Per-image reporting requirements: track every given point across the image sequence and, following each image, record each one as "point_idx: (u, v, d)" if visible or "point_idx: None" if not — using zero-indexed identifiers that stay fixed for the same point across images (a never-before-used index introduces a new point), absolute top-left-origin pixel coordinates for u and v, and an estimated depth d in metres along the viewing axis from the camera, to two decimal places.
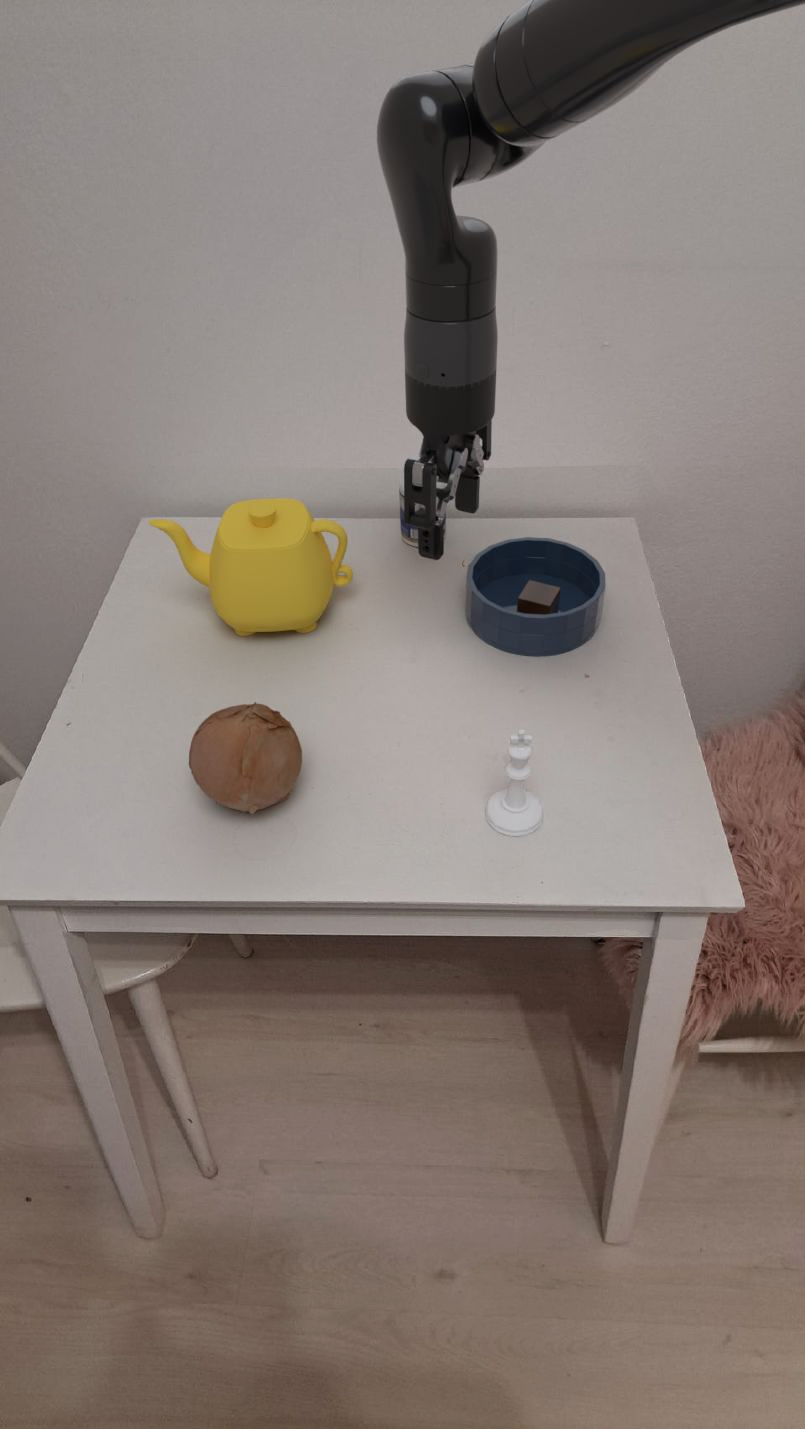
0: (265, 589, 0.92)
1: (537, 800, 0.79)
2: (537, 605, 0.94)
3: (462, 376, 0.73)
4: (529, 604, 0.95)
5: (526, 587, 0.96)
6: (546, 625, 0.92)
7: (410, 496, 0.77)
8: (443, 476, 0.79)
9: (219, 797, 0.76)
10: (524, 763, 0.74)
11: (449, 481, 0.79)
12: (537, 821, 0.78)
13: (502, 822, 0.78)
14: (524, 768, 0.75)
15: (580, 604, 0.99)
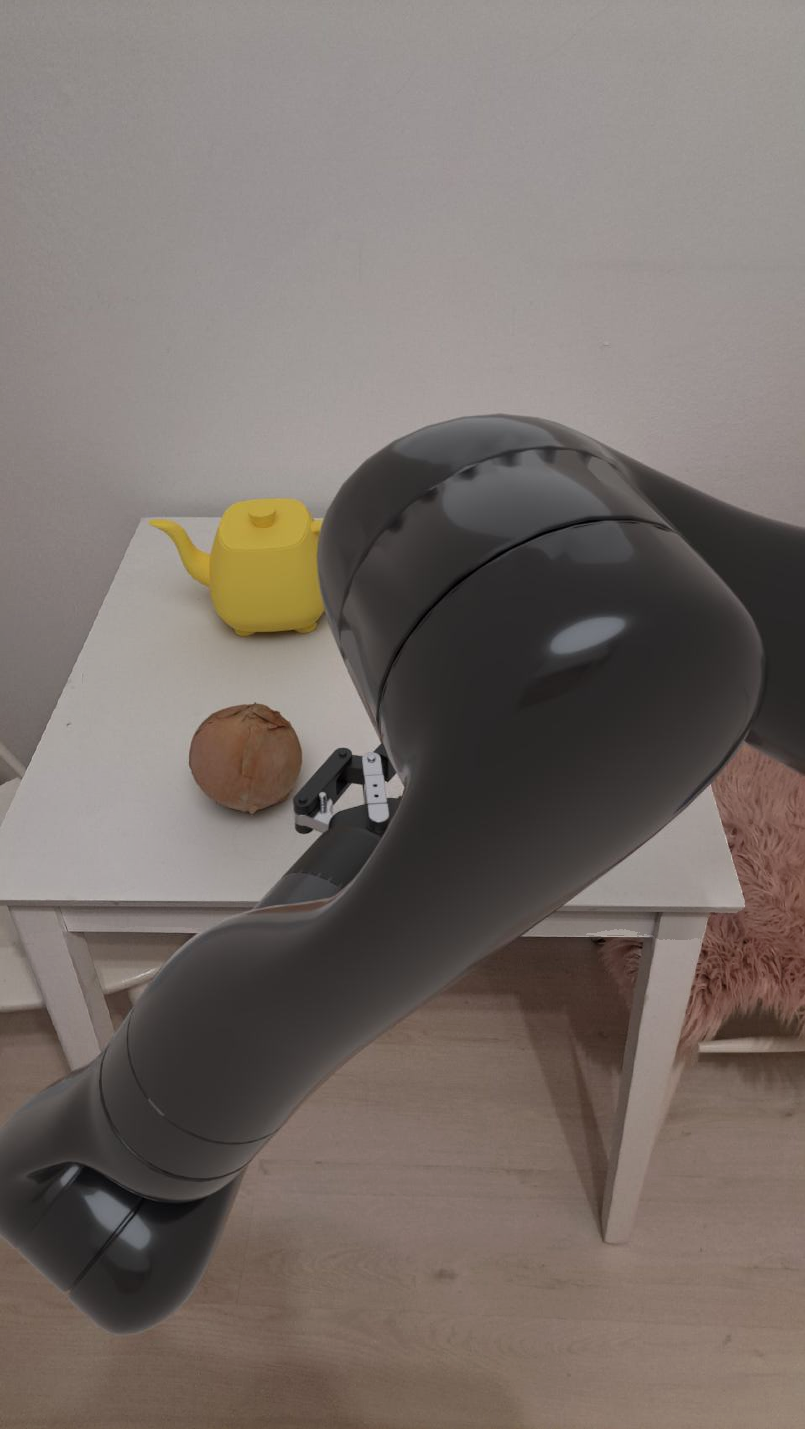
0: (265, 589, 0.92)
1: None
2: None
3: None
4: None
5: None
6: None
7: None
8: None
9: (219, 797, 0.76)
10: None
11: None
12: None
13: None
14: None
15: None
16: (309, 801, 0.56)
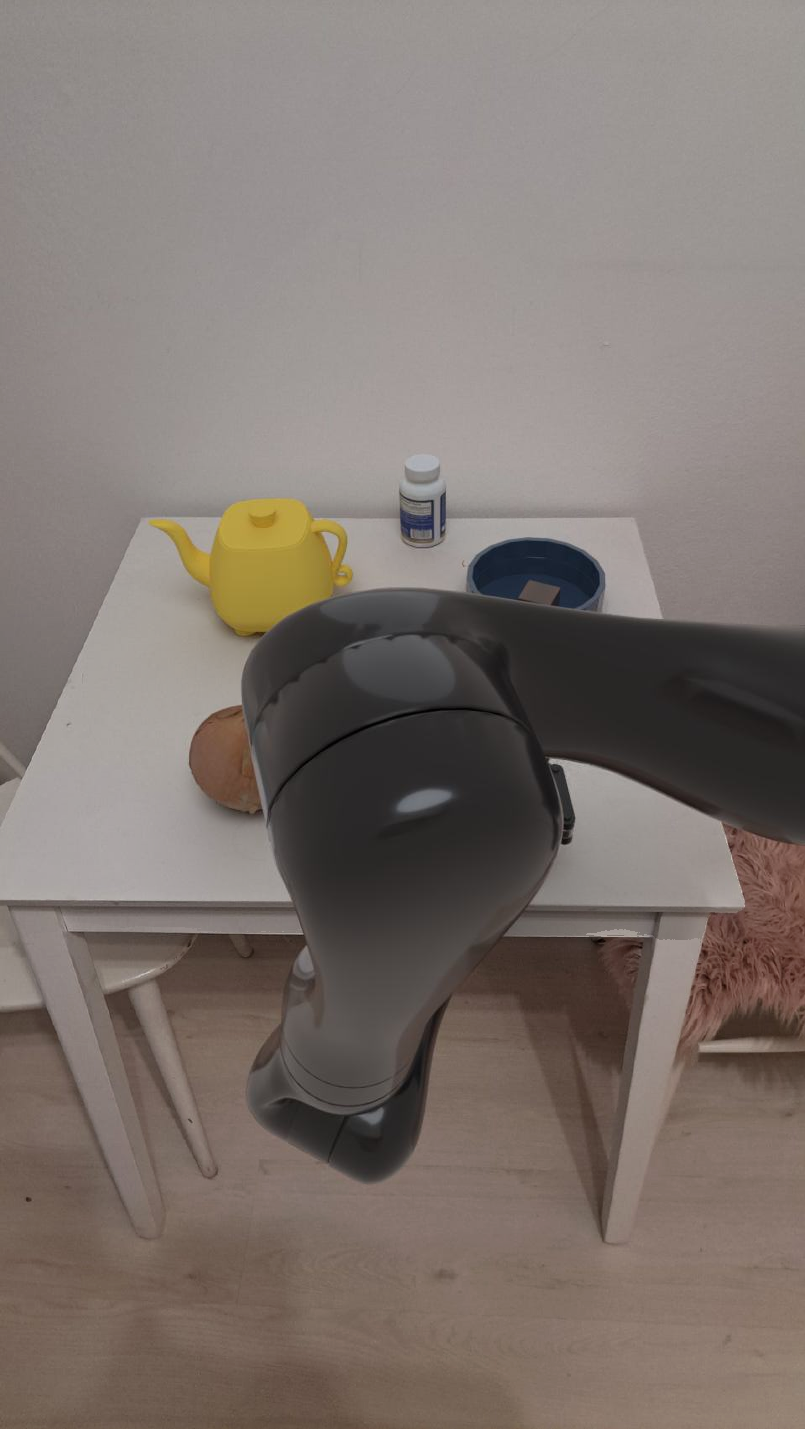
0: (265, 589, 0.92)
1: None
2: None
3: None
4: None
5: (526, 587, 0.96)
6: None
7: None
8: None
9: (219, 797, 0.76)
10: None
11: None
12: None
13: None
14: None
15: (580, 604, 0.99)
16: None
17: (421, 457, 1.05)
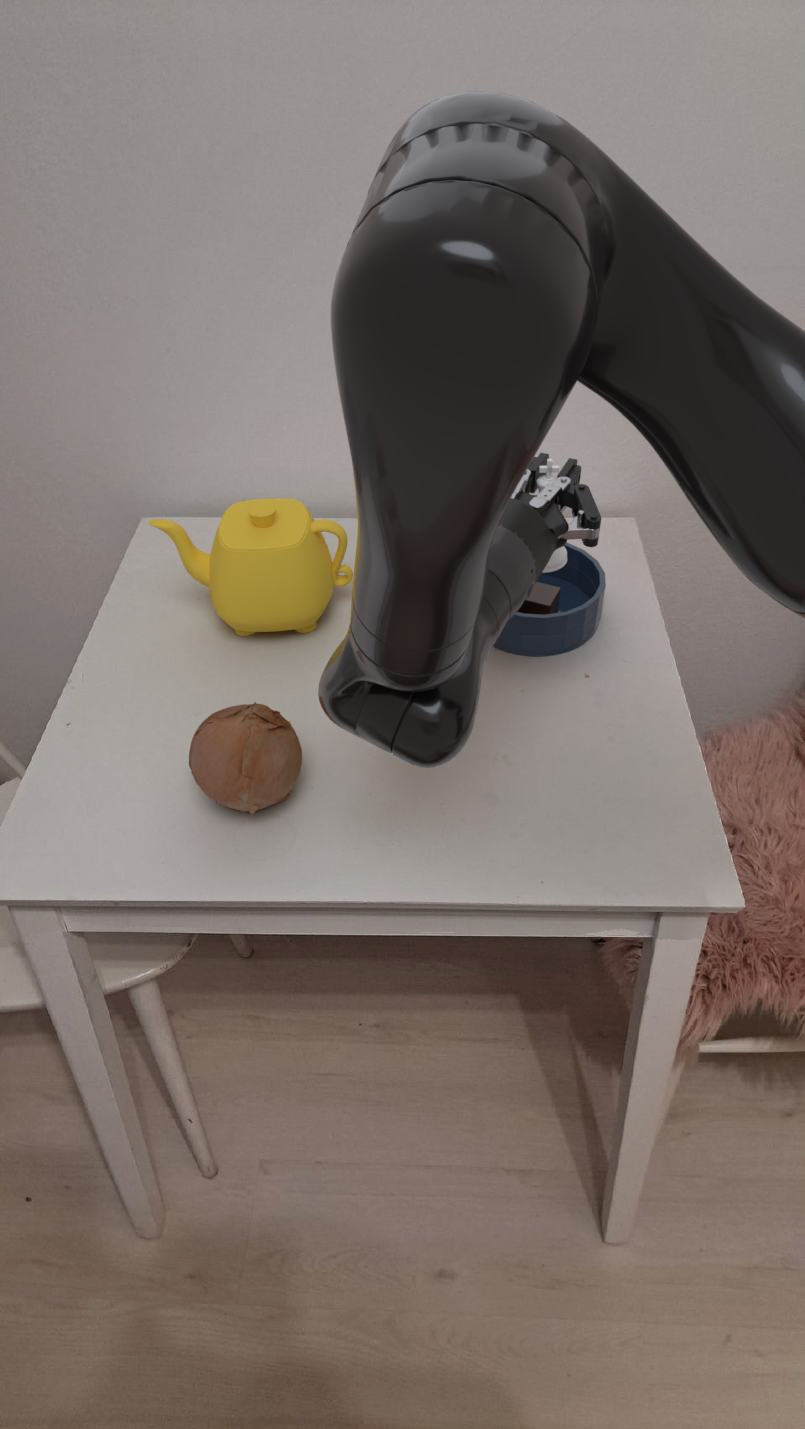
0: (265, 589, 0.92)
1: None
2: (537, 605, 0.94)
3: (525, 553, 0.69)
4: (529, 604, 0.95)
5: None
6: (546, 625, 0.92)
7: None
8: (561, 513, 0.76)
9: (219, 797, 0.76)
10: None
11: (555, 497, 0.77)
12: (562, 559, 0.85)
13: None
14: None
15: (580, 604, 0.99)
16: None
17: None
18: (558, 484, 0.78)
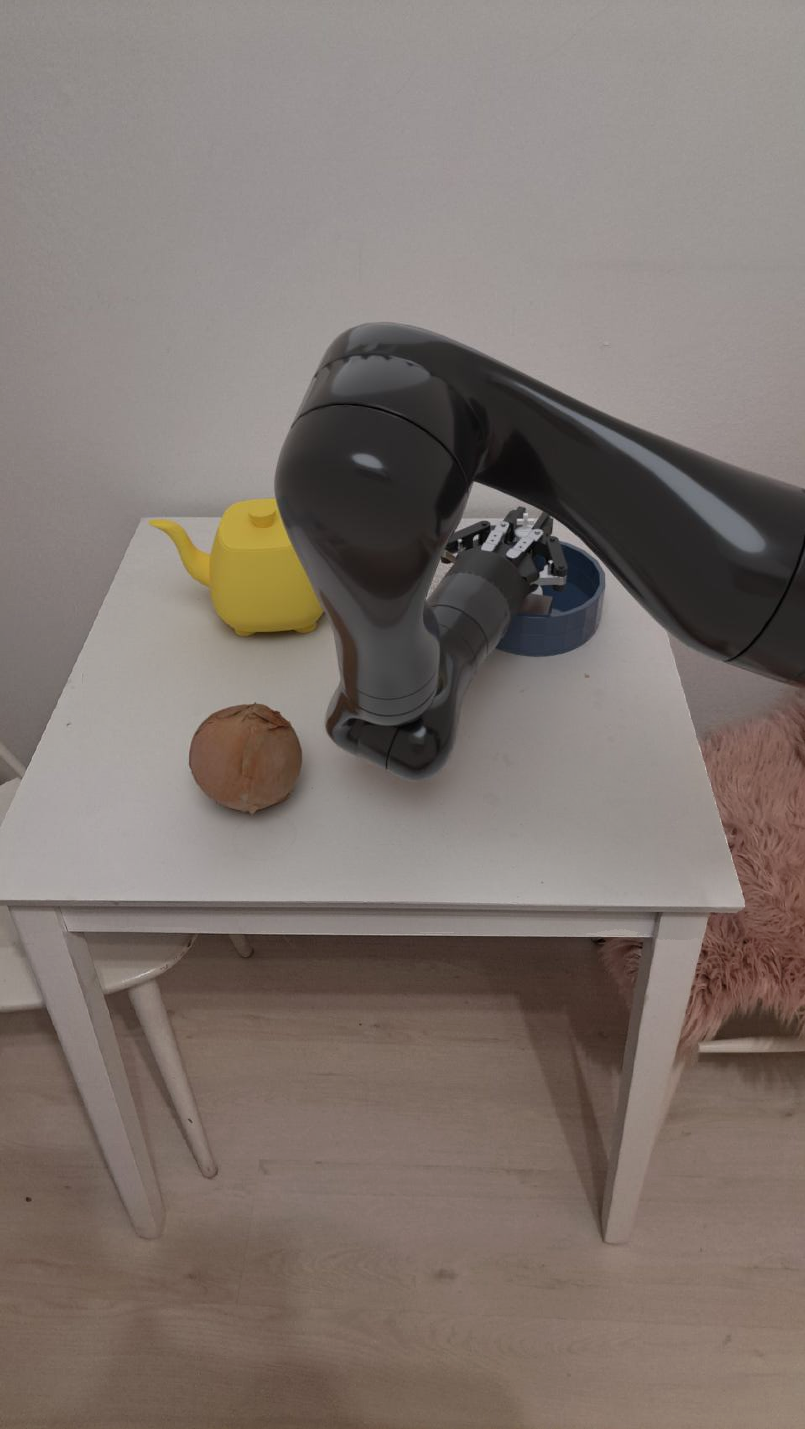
0: (265, 589, 0.92)
1: None
2: None
3: (500, 600, 0.82)
4: None
5: None
6: (546, 625, 0.92)
7: None
8: None
9: (219, 797, 0.76)
10: None
11: (529, 548, 0.89)
12: None
13: None
14: None
15: (580, 604, 0.99)
16: (450, 541, 0.91)
17: None
18: (532, 536, 0.91)
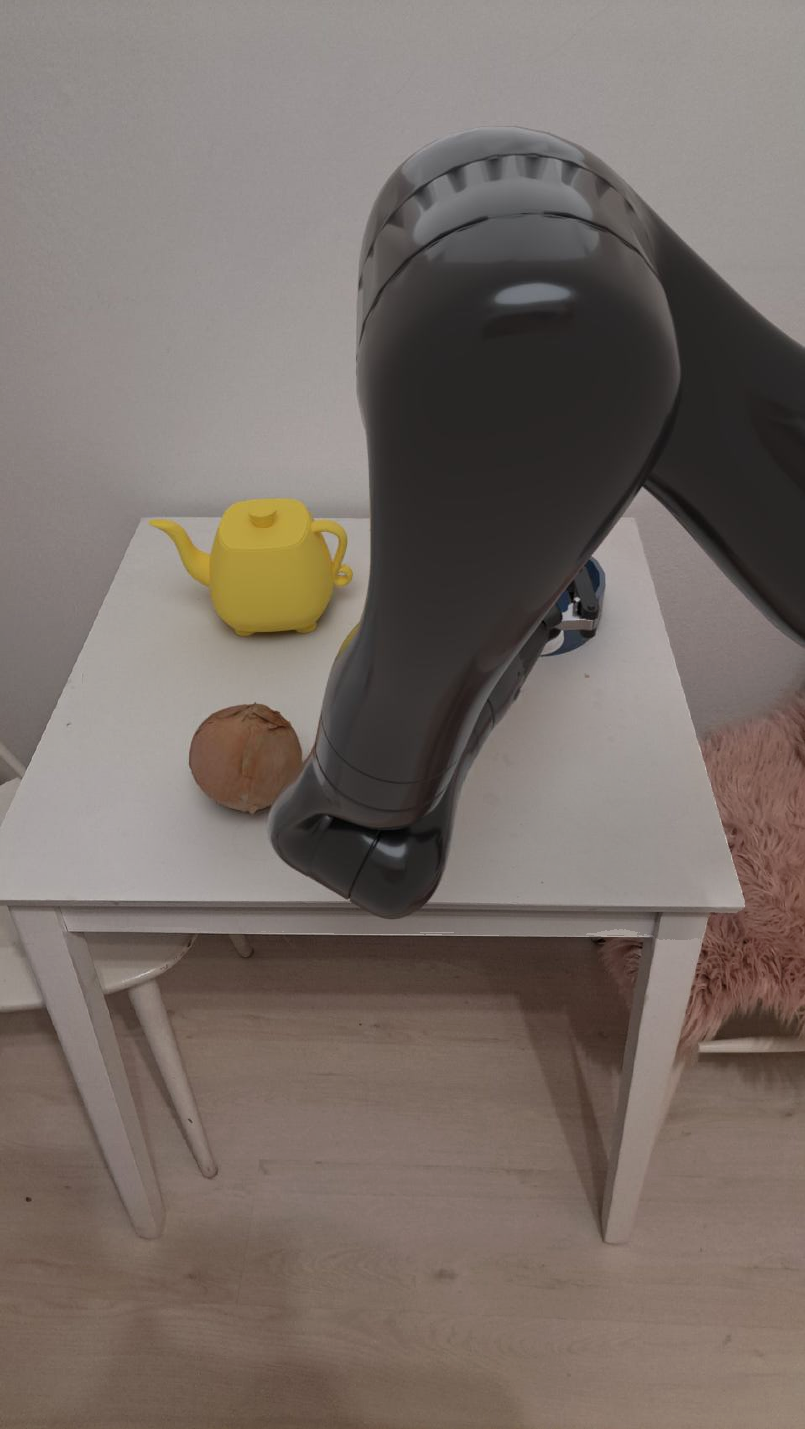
0: (265, 589, 0.92)
1: None
2: None
3: None
4: None
5: None
6: None
7: None
8: None
9: (219, 797, 0.76)
10: None
11: None
12: (558, 640, 0.77)
13: None
14: None
15: None
16: None
17: None
18: None
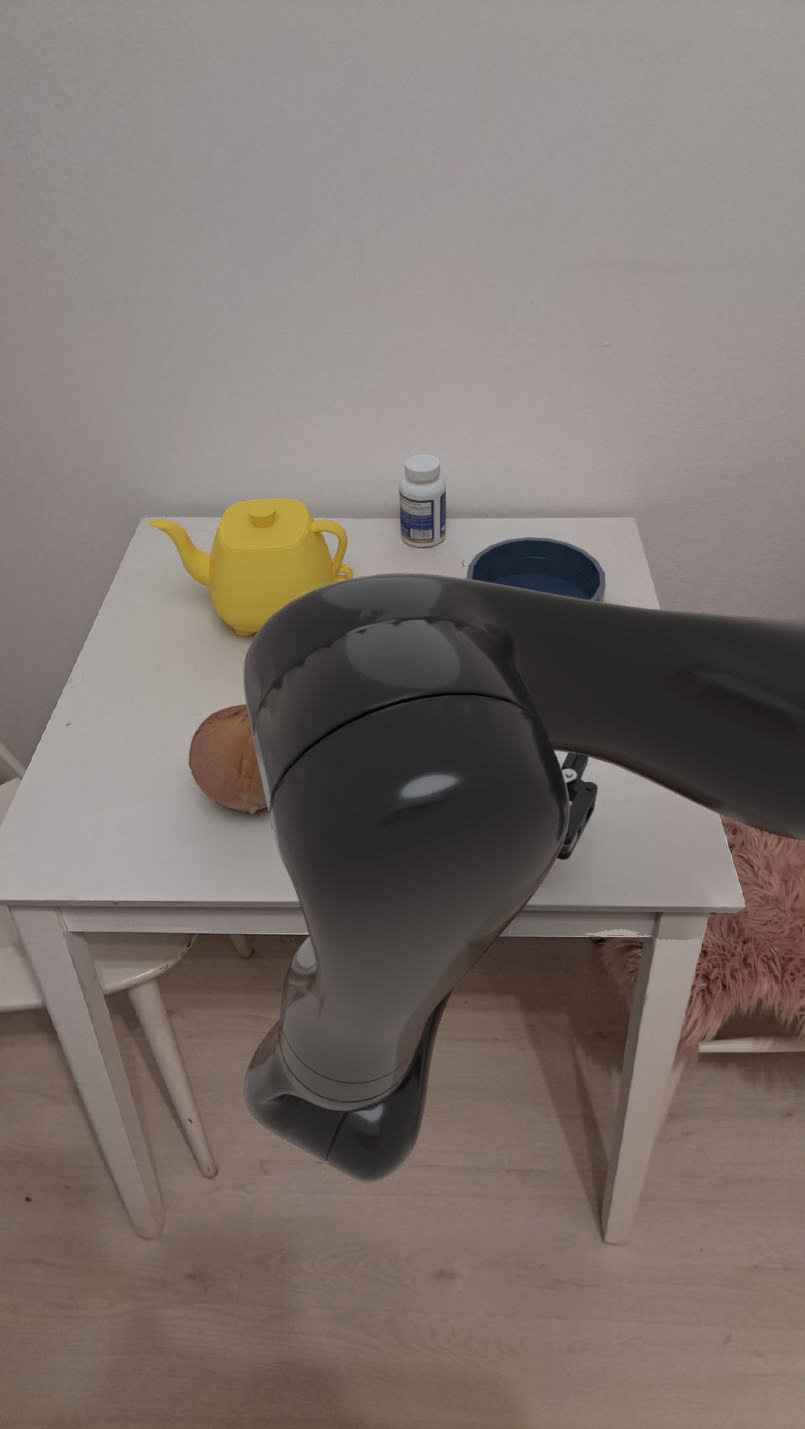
0: (265, 589, 0.92)
1: None
2: None
3: None
4: None
5: None
6: None
7: (582, 828, 0.68)
8: None
9: (219, 797, 0.76)
10: None
11: None
12: None
13: None
14: None
15: None
16: None
17: (421, 457, 1.05)
18: None
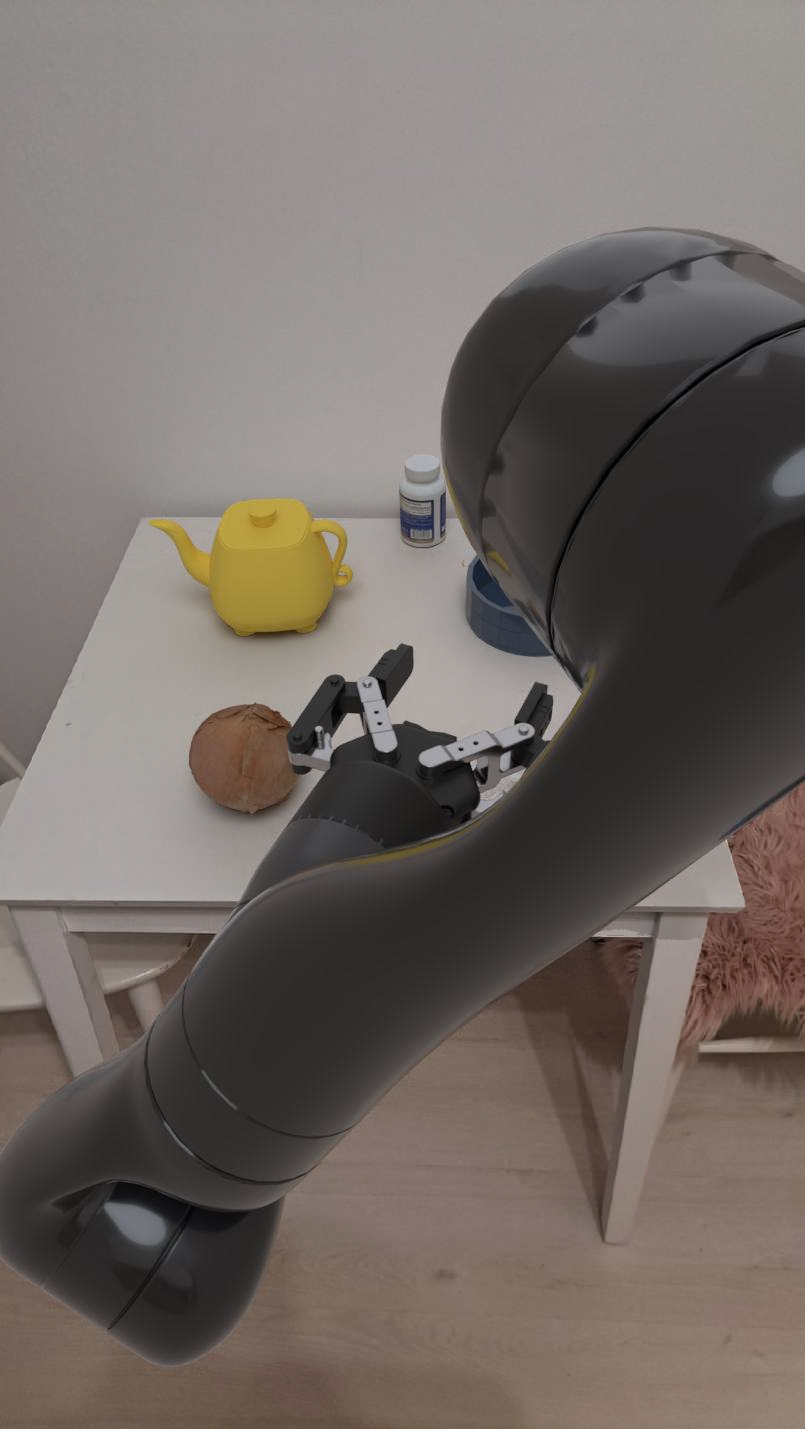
0: (265, 589, 0.92)
1: None
2: None
3: None
4: None
5: None
6: None
7: None
8: (471, 767, 0.49)
9: (219, 797, 0.76)
10: None
11: (477, 757, 0.48)
12: None
13: None
14: (523, 769, 0.75)
15: None
16: (305, 737, 0.50)
17: (421, 458, 1.05)
18: (514, 740, 0.49)
